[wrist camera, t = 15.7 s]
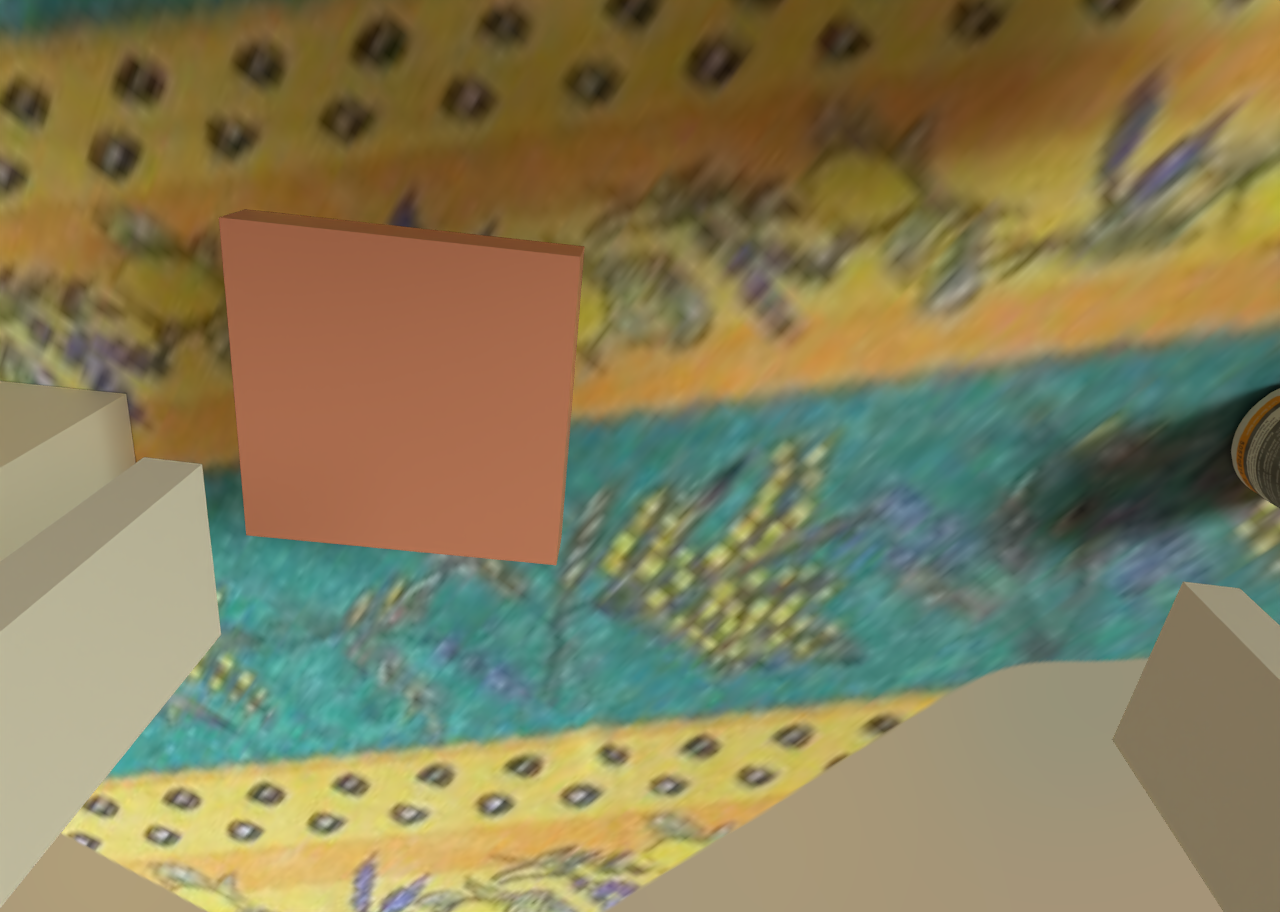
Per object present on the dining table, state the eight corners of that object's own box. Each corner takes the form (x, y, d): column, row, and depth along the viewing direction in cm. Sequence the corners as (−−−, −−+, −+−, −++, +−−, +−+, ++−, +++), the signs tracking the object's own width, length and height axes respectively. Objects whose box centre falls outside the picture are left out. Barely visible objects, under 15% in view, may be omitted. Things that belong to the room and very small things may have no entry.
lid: (257, 205, 31) (218, 217, 28) (586, 241, 31) (580, 256, 28) (277, 500, 35) (246, 535, 32) (563, 527, 36) (556, 565, 33)
